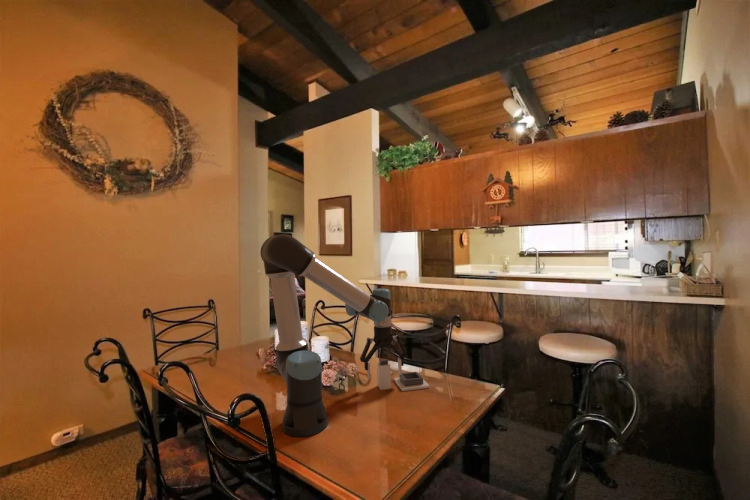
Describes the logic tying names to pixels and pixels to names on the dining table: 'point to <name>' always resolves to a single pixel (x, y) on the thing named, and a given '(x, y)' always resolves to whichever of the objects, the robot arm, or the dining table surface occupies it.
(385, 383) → the grey bottle
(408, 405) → the dining table surface
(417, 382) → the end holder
